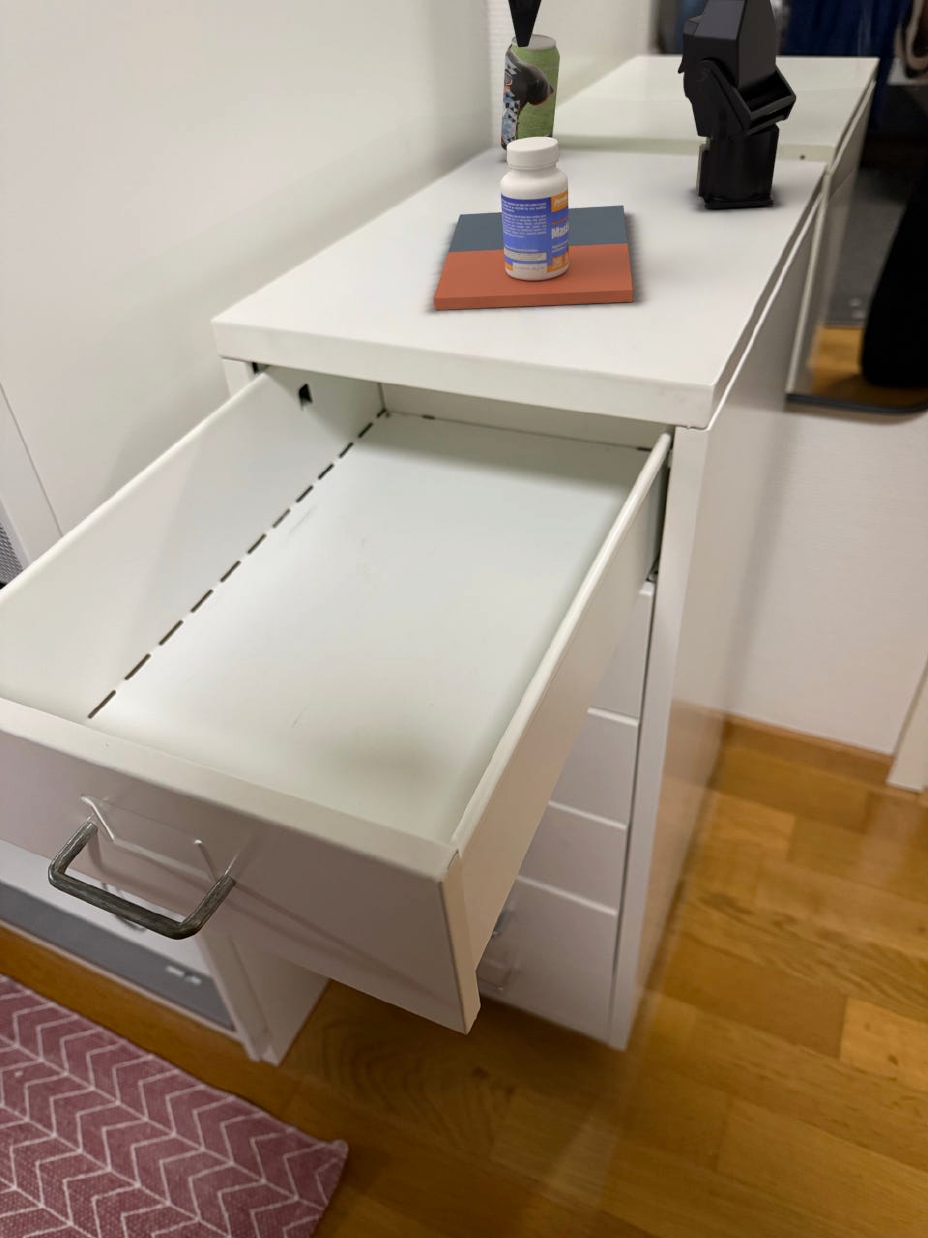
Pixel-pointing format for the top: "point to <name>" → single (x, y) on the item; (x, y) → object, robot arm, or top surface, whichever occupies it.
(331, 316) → the top surface
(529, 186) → the pill bottle
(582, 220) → the board
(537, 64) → the beverage can
